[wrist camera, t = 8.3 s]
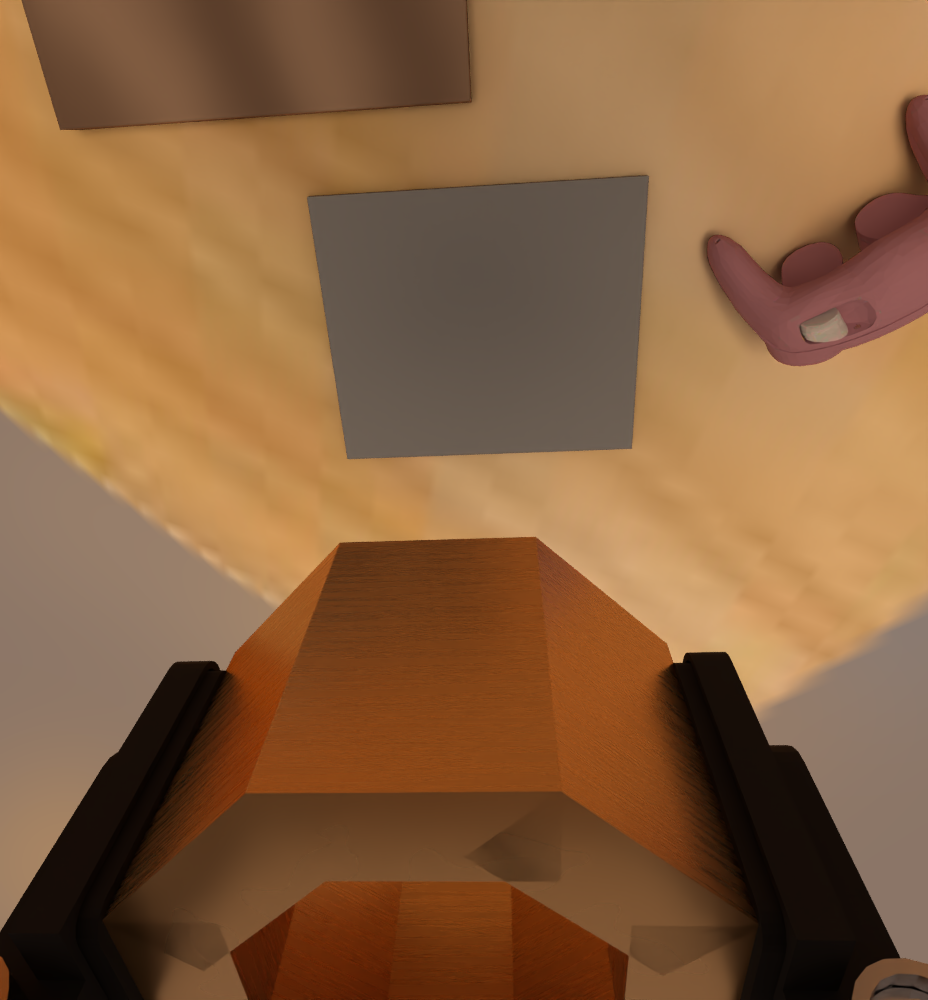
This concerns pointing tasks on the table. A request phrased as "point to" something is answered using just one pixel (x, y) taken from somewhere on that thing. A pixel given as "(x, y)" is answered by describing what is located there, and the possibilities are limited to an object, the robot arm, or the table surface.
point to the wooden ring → (440, 801)
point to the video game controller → (839, 275)
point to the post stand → (245, 58)
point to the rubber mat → (484, 315)
